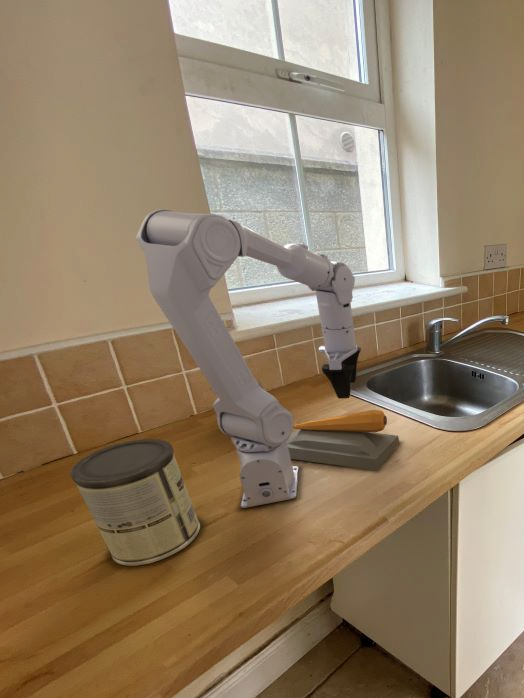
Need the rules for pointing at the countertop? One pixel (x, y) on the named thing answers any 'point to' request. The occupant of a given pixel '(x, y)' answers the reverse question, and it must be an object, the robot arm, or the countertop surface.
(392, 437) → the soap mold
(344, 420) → the carrot
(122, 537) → the coffee can
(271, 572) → the countertop surface
